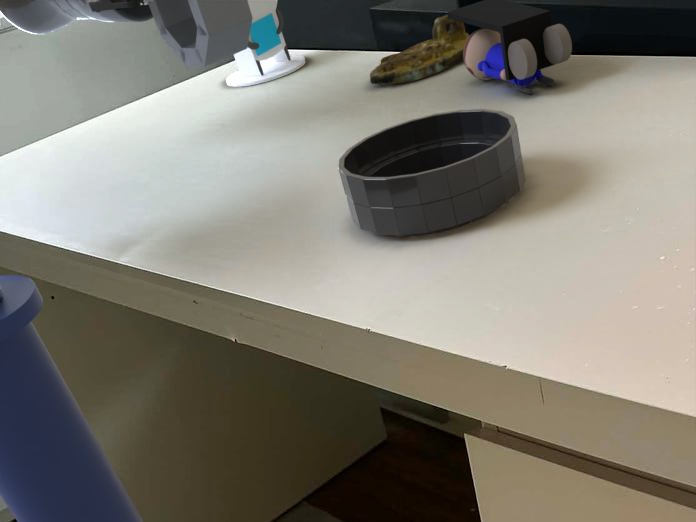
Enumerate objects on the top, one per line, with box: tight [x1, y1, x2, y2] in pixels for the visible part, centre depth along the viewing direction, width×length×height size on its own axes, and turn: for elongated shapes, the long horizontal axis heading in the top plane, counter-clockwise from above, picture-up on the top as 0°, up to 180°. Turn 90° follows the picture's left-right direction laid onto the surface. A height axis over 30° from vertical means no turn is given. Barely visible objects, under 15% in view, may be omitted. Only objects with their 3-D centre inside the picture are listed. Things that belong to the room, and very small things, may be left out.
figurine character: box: [446, 0, 573, 96], centre depth 100 cm, size 7×8×15 cm
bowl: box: [337, 108, 526, 238], centre depth 79 cm, size 15×15×5 cm
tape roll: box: [149, 0, 253, 68], centre depth 86 cm, size 9×5×9 cm, turn 46°
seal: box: [369, 14, 470, 85], centre depth 114 cm, size 9×5×15 cm
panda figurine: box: [225, 0, 306, 88], centre depth 125 cm, size 12×11×15 cm
